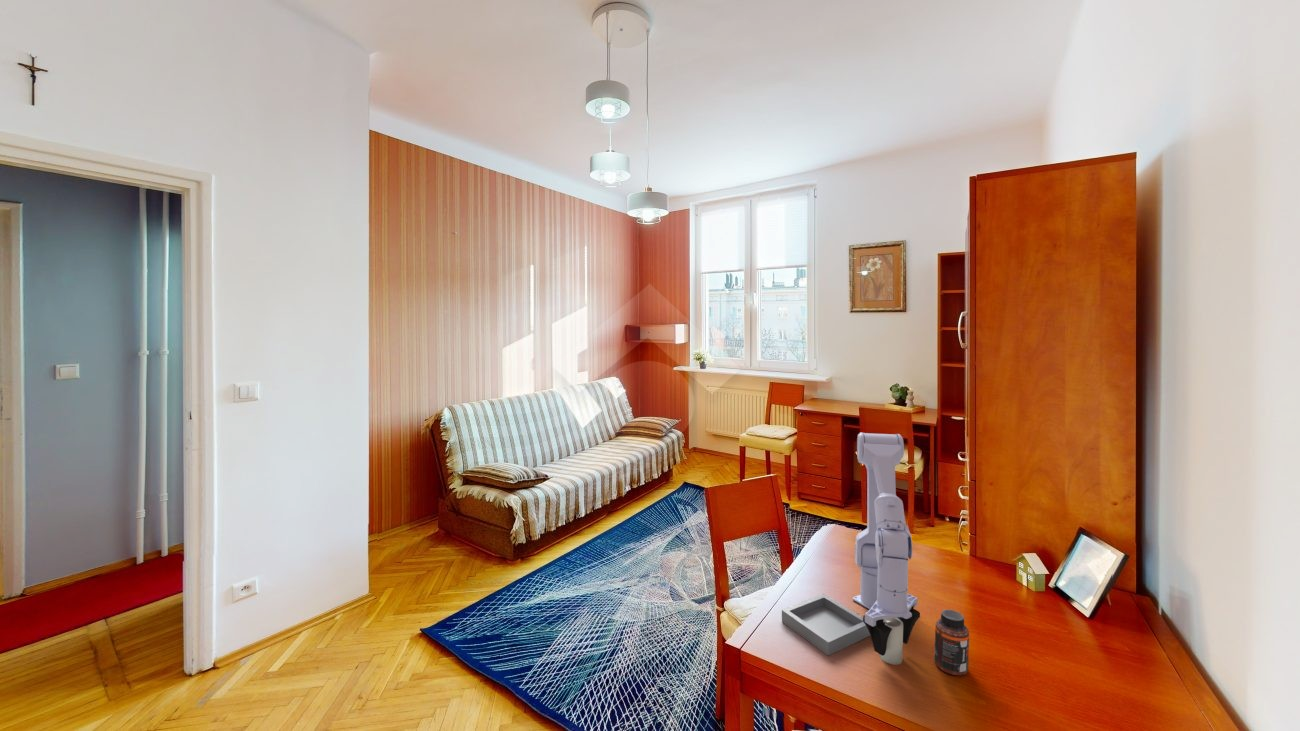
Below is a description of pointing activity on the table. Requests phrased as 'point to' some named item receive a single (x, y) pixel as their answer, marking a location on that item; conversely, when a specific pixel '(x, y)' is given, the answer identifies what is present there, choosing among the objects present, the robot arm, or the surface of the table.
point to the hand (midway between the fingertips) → (891, 646)
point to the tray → (825, 623)
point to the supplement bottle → (951, 643)
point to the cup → (894, 642)
